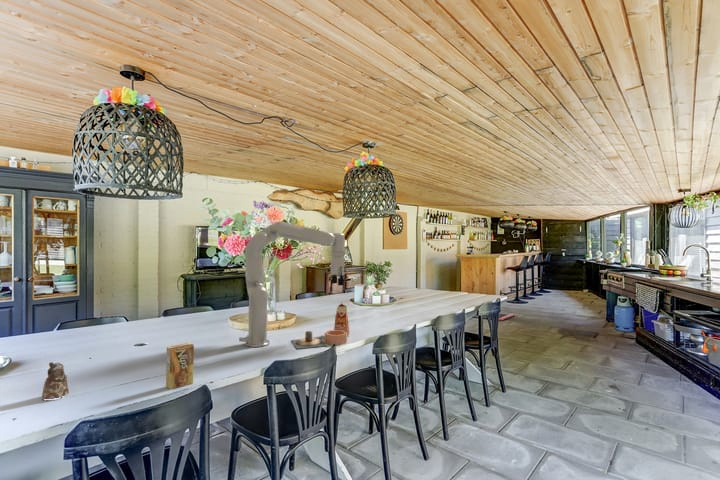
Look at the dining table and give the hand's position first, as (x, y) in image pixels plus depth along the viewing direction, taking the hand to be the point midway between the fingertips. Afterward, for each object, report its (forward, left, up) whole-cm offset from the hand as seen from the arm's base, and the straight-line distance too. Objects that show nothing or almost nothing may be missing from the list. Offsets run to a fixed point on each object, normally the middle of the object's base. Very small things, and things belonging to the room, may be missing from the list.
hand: (337, 284), depth 216 cm
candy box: (-78, -47, -31) cm, 96 cm away
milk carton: (+5, +5, -31) cm, 32 cm away
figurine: (-118, -44, -31) cm, 130 cm away
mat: (-18, -8, -31) cm, 37 cm away
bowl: (-3, -9, -31) cm, 32 cm away
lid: (-18, -8, -30) cm, 36 cm away
